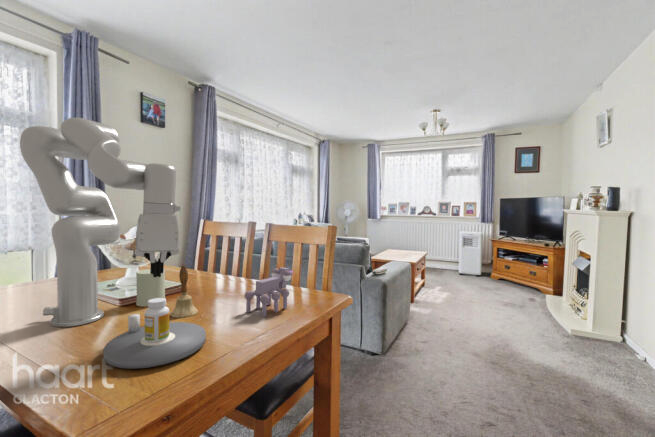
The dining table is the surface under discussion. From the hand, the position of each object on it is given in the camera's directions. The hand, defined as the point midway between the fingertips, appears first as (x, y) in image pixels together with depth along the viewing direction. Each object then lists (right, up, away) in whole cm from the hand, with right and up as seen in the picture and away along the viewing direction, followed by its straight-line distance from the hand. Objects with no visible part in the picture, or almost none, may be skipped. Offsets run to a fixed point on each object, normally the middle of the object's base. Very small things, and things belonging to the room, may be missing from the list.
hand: (156, 276), depth 84 cm
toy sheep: (+28, -16, +24) cm, 41 cm away
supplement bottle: (+5, -14, -8) cm, 17 cm away
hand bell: (0, -16, +17) cm, 23 cm away
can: (-17, -15, +27) cm, 35 cm away
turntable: (+5, -17, -8) cm, 19 cm away
